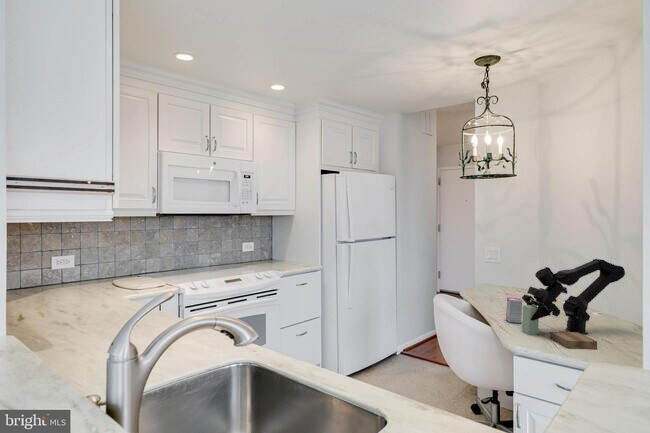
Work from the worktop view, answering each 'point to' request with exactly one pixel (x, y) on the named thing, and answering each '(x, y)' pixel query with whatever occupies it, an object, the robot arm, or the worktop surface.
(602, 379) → the worktop surface
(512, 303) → the supplement box
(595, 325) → the worktop surface
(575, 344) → the walnut base
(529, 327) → the sage block
